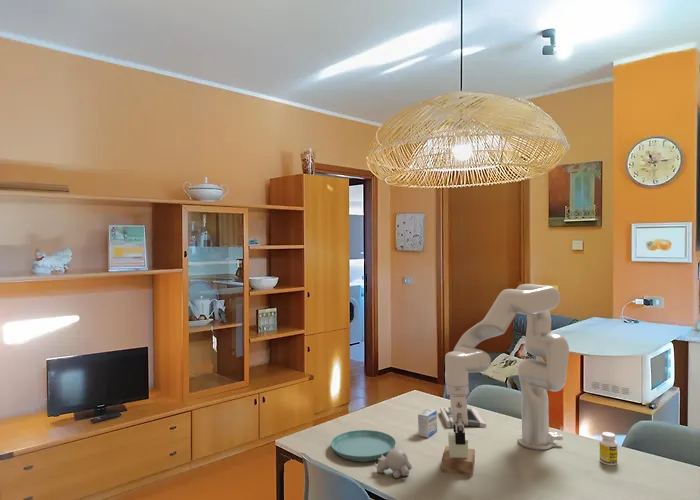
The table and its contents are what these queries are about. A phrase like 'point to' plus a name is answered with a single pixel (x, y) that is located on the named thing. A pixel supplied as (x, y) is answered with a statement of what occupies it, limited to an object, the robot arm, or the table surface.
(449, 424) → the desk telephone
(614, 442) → the supplement bottle
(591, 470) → the table surface
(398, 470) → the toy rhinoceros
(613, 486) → the table surface
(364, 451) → the teal plate
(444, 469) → the walnut block
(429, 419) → the medicine box
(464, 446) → the sage cube
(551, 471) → the table surface
